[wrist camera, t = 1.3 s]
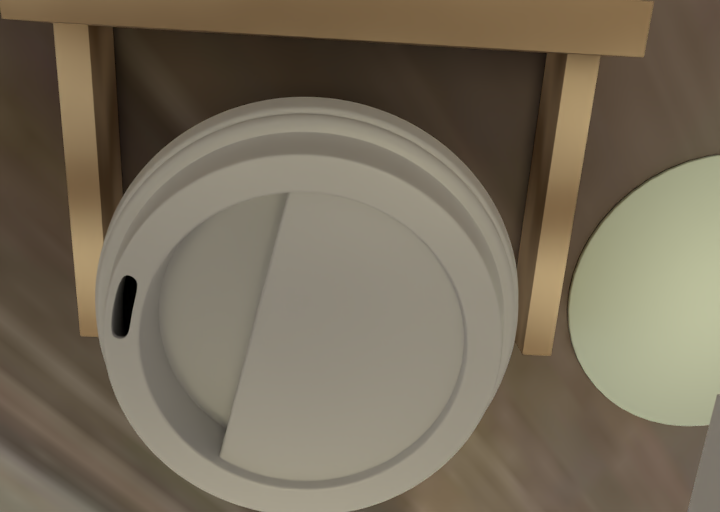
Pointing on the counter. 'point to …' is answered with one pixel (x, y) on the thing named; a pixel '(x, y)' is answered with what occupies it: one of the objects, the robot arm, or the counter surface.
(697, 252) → the coaster
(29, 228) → the counter surface
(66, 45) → the shelf bay
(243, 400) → the coffee cup
